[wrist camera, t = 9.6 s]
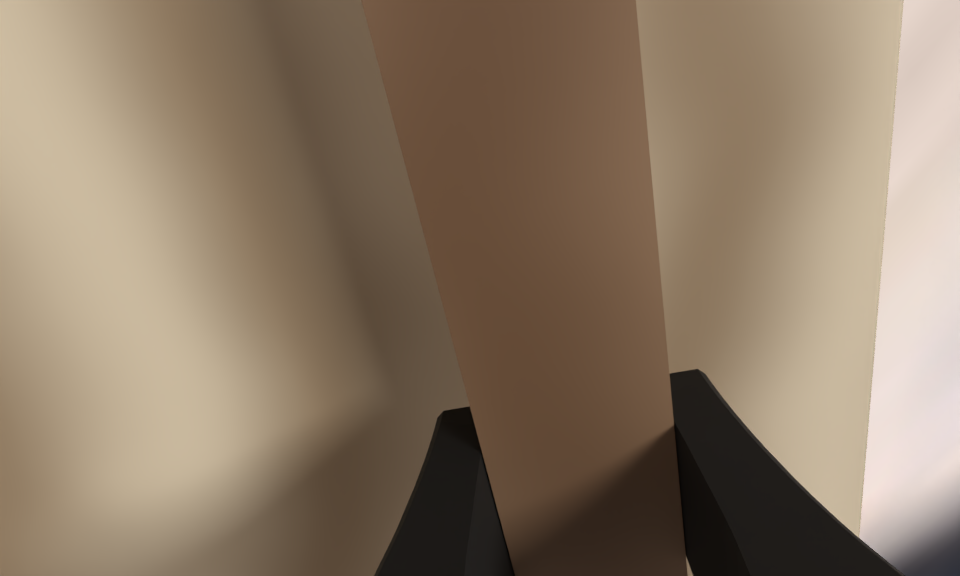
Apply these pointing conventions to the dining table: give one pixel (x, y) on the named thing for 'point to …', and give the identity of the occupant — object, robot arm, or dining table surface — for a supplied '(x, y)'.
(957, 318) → the dining table surface
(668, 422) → the brown wooden bar
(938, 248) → the dining table surface
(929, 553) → the dining table surface
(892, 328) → the dining table surface
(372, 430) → the board
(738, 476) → the robot arm
